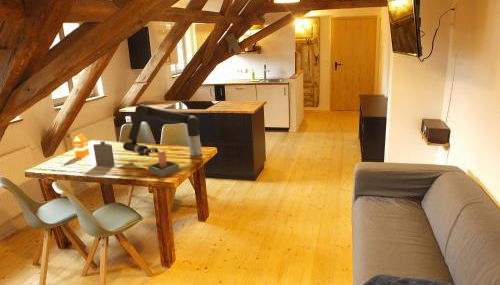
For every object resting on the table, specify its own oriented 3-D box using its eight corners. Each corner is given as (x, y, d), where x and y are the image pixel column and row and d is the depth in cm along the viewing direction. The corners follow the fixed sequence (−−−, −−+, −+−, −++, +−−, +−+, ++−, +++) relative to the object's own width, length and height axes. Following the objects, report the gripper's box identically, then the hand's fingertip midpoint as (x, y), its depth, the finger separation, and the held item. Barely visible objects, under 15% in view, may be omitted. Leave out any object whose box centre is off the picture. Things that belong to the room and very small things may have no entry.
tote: (166, 166, 287) (165, 160, 286) (179, 170, 277) (178, 164, 275) (148, 172, 275) (147, 166, 274) (161, 176, 265) (160, 170, 264)
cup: (164, 168, 280) (162, 150, 276) (169, 170, 276) (167, 151, 272) (158, 171, 276) (156, 152, 271) (163, 172, 272) (160, 153, 268)
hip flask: (95, 165, 294) (91, 142, 289) (98, 164, 298) (95, 140, 293) (113, 166, 291) (109, 142, 285) (116, 165, 295) (112, 141, 289)
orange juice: (89, 154, 326) (85, 132, 320) (84, 157, 317) (80, 135, 312) (81, 154, 326) (77, 132, 321) (75, 157, 318) (71, 135, 312)
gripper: (132, 147, 284) (144, 150, 274) (148, 142, 295) (160, 145, 284) (134, 156, 286) (146, 160, 276) (149, 151, 297) (161, 155, 287)
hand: (153, 152), depth 280 cm, fingers open, 8 cm apart
